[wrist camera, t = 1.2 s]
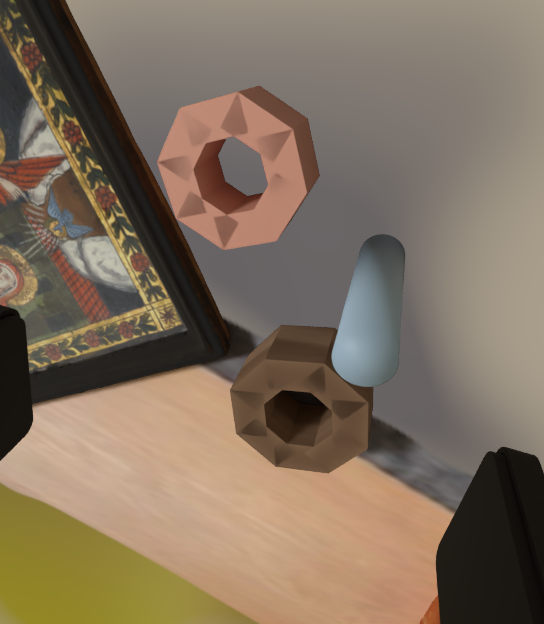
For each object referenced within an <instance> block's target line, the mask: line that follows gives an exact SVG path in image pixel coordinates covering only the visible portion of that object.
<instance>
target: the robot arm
mask: <svg viewBox="0 0 544 624" xmlns="http://www.w3.org/2000/svg"><path fill="white" fill-rule="evenodd" d="M32 422H33V410H32V397H31V385H30V373H29V360H28V348H27V336H26V325H25V321H24V320H23V319H22V318H20V314H19V313H18V311H17V310H15V309H13V308H10V307H6V306H3V305H0V461H1V460H2V459H3V458H4V457H5V456H6V455H7V454H8V453H9V452H10V451H11V450H12V449H13V448H14V447H15V446H16V445H17V444H18V443H19V442H20V441H21V440H22V439H23V438H24V437H25V435H26V434H27V433H28V432H29V430H30V428H31V426H32ZM436 573H437V587H438V601H439V615H440V624H544V473H543V470H542V467H541V464H540V462H539V460H538V458H537V457H536V456H535V455H531V454H528V453H524V452H521V451H517V450H514V449H510V448H507V447H501V448H500V449H498V451H497V452H496V453H495V452H491V451H490V452H488V453H486V455H485V457H484V458H483V461H482V462H481V464H480V466H479V468H478V470H477V472H476V474H475V476H474V478H473V480H472V482H471V484H470V486H469V487H468V489H467V491H466V493H465V495H464V497H463V499H462V501H461V503H460V505H459V507H458V509H457V511H456V513H455V514H454V516H453V518H452V520H451V522H450V524H449V526H448V528H447V530H446V532H445V534H444V536H443V538H442V540H441V542H440V544H439V546H438V550H437V555H436Z"/></svg>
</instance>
